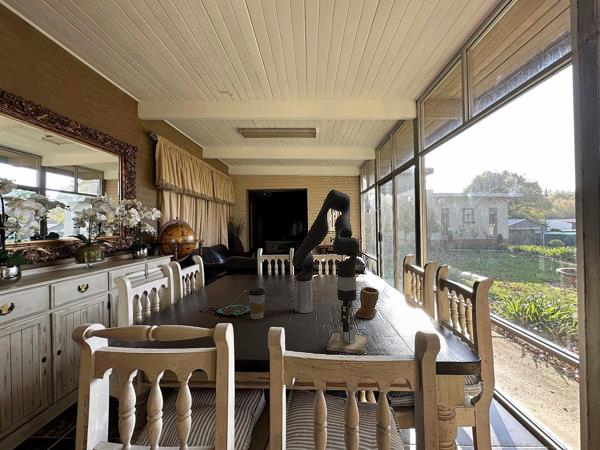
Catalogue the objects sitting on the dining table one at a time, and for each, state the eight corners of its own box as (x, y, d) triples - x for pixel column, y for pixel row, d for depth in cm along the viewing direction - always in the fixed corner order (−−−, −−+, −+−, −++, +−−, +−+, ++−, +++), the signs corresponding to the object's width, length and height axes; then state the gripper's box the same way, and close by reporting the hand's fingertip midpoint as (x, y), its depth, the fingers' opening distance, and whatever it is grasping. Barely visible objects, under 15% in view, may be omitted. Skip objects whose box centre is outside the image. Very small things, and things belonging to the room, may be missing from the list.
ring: (338, 342, 113) (338, 330, 113) (341, 337, 119) (341, 325, 119) (354, 344, 111) (354, 331, 111) (356, 338, 117) (355, 326, 117)
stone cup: (376, 321, 142) (376, 291, 142) (353, 318, 147) (352, 289, 147) (382, 313, 156) (381, 285, 156) (360, 310, 161) (360, 283, 161)
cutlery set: (240, 319, 149) (240, 315, 149) (195, 314, 161) (195, 310, 161) (260, 309, 167) (260, 305, 167) (219, 305, 179) (219, 302, 179)
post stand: (326, 349, 110) (326, 322, 110) (333, 336, 124) (333, 312, 124) (364, 354, 106) (363, 325, 106) (367, 339, 119) (366, 314, 119)
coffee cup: (268, 317, 152) (267, 288, 152) (259, 321, 144) (259, 291, 144) (255, 315, 155) (254, 287, 156) (245, 319, 148) (245, 290, 148)
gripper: (340, 283, 123) (341, 321, 123) (334, 290, 109) (334, 333, 109) (358, 284, 121) (358, 323, 120) (354, 291, 107) (354, 335, 107)
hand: (347, 328), depth 115 cm, fingers open, 8 cm apart
